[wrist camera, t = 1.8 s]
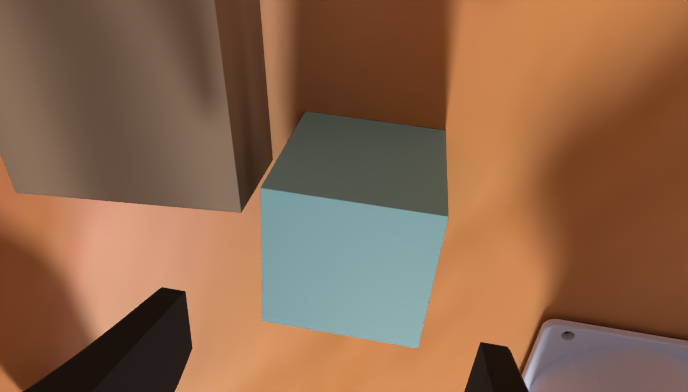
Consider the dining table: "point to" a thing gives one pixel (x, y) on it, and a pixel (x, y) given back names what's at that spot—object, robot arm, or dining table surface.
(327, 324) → the teal block
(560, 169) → the dining table surface
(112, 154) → the brown block
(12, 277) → the dining table surface
